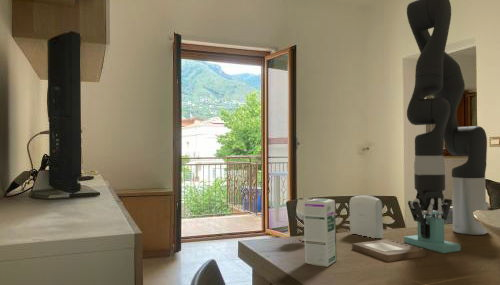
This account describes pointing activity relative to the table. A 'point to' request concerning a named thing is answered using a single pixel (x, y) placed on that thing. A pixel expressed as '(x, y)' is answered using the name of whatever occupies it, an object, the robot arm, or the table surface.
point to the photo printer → (366, 216)
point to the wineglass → (301, 207)
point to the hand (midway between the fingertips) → (430, 237)
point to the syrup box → (320, 232)
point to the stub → (433, 238)
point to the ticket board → (389, 250)
